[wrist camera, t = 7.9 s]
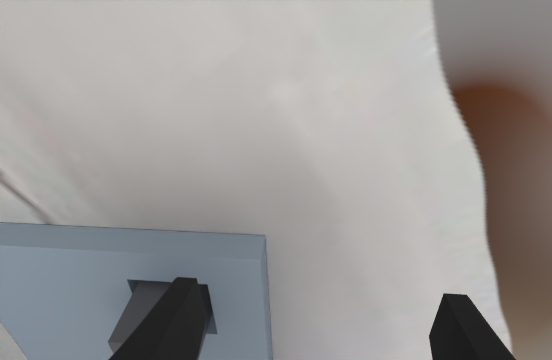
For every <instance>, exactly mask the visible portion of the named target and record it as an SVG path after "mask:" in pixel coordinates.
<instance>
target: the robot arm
mask: <svg viewBox="0 0 552 360" xmlns="http://www.w3.org/2000/svg"><path fill="white" fill-rule="evenodd" d="M205 322H206V318H205V313H204V309H203V304H202V300H201V295H200V291H199V286H198V282H197V278H187V277H177V278H175V279H174V280H173V282H172V283H171V284H170V286H169V287H168V288H167V290H166V291H165V292H164V294H163V295H162V296H161V298H160V299H159V300H158V301H157V303H156V304H155V305H154V307H153V308H152V309H151V310H150V312H149V313H148V314H147V315H146V317H145V318H144V319H143V320H142V321H141V323H140V324H139V325H138V326H137V327H136V329H135V330H134V331H133V332H132V333H131V335H130V336H129V337H128V338H127V339H126V340H125V342H124V343H123V344H122V345H121V346H120V347H119V348H118V349H117V351H116V352H115V353H114V354H113V355H112V356H111V357H110V358H109V359H108V360H197V358H198V354H199V350H200V346H201V341H202V337H203V332H204V327H205ZM429 339H430V345H431V352H432V358H433V360H516V359H515V358H514V357H513V355H512V354H511V353H510V352H509V350H508V349H507V348H506V346H505V345H504V344H503V343H502V341H501V340H500V339H499V337H498V336H497V335H496V333H495V332H494V331H493V329H492V328H491V327H490V325H489V324H488V323H487V321H486V320H485V319H484V317H483V316H482V315H481V313H480V312H479V310H478V309H477V308H476V306H475V305H474V304H473V302H472V301H471V300H470V298H469V297H468V296H467V295H461V294H445V293H444V294H443V297H442V300H441V303H440V306H439V309H438V312H437V314H436V317H435V320H434V323H433V326H432V329H431V332H430V335H429Z"/></svg>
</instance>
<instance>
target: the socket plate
mask: <svg viewBox="0 0 552 360" xmlns="http://www.w3.org/2000/svg"><path fill="white" fill-rule="evenodd" d="M177 277H187V278H197V282H198V284H208V289H209V294H210V299H211V304H212V309H213V311H212V315H211V318H210V322H209V325H208V329H207V332H206V336H205V339H204V342H203V346H202V349H201V353H200V356H199V360H273V354H272V338H271V322H270V306H269V290H268V274H267V258H266V242H265V236H264V235H244V234H224V233H203V232H183V231H162V230H142V229H122V228H101V227H81V226H61V225H40V224H20V223H0V322H1V323H2V325H3V326H4V327H5V329H6V330H7V332H8V333H9V334H10V336H11V337H12V338H13V340H14V341H15V342H16V344H17V345H18V346H19V348H20V349H21V350H22V352H23V353H24V355H25V356H26V357H27V359H28V360H108V359H109V358H110V357H111V356H112V355H113V352H112V350H111V348H110V346H109V344H108V340H109V338H110V336H111V334H112V332H113V331H114V329H115V327H116V325H117V323H118V321H119V319H120V317H121V315H122V313H123V311H124V309H125V307H126V305H127V304H128V302H129V300H130V298H131V296H132V294H133V292H134V290H135V288H136V286H137V284H138V282H139V280H146V281H162V282H173V280H174V279H175V278H177Z"/></svg>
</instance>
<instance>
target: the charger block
mask: <svg viewBox="0 0 552 360" xmlns="http://www.w3.org/2000/svg"><path fill="white" fill-rule="evenodd" d="M171 283H172V282H162V281H146V280H139V282H138V284H137V286H136V288H135V290H134V292H133V294H132V296H131V298H130V300H129V302H128V304H127V305H126V307H125V309H124V311H123V313H122V315H121V317H120V319H119V321H118V323H117V325H116V327H115V329H114V331H113V332H112V334H111V336H110V338H109V340H108V344H109V346H110V348H111V350H112V352H113V354H114V353H115V352H116V351H117V349H118V348H119V347H120V346H121V345H122V344H123V343H124V342H125V340H126V339H127V338H128V337H129V336H130V335H131V333H132V332H133V331H134V330H135V329H136V327H137V326H138V325H139V324H140V323H141V321H142V320H143V319H144V318H145V317H146V315H147V314H148V313H149V312H150V310H151V309H152V308H153V307H154V305H155V304H156V303H157V301H158V300H159V299H160V298H161V296H162V295H163V294H164V292H165V291H166V290H167V288H168V287H169V286H170V284H171ZM198 286H199V291H200V295H201V300H202V304H203V309H204V313H205V318H206V322H205V327H204V332H203V337H202V341H201V346H200V350H199V354H198V358H197V360H199V356H200V353H201V349H202V346H203V342H204V339H205V336H206V332H207V329H208V325H209V322H210V318H211V315H212V311H213V309H212V304H211V299H210V294H209V289H208V284H198Z"/></svg>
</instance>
